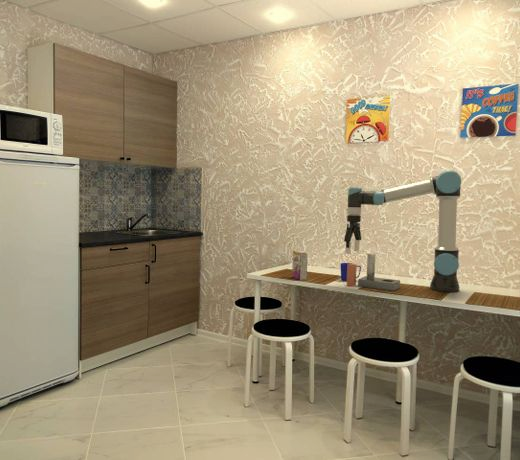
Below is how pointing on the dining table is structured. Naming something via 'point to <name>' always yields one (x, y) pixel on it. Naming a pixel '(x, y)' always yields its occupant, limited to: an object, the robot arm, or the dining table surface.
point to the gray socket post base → (375, 282)
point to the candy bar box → (299, 265)
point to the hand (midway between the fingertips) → (352, 252)
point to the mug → (344, 271)
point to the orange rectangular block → (351, 274)
